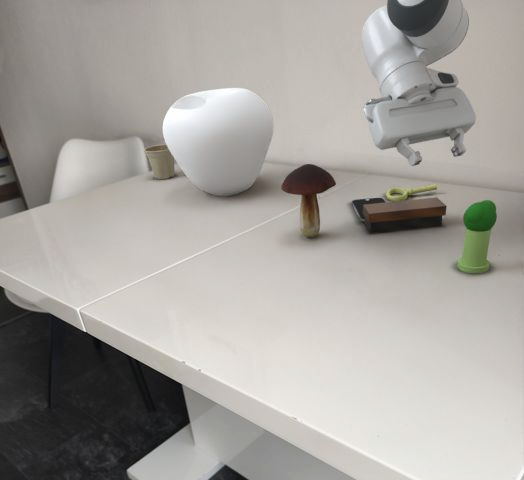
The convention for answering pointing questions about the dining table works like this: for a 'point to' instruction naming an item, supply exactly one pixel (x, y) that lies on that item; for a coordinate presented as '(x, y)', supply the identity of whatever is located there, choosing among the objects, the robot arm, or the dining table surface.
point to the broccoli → (477, 236)
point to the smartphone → (360, 202)
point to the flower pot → (161, 161)
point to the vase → (219, 138)
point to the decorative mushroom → (308, 194)
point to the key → (407, 192)
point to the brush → (404, 214)
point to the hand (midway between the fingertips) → (439, 158)
